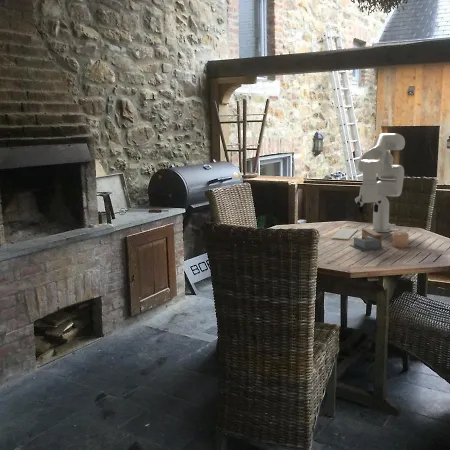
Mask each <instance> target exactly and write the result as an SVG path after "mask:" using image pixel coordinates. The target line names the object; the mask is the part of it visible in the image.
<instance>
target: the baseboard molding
mask: <svg viewBox="0 0 450 450" xmlns="http://www.w3.org/2000/svg"><path fill="white" fill-rule="evenodd" d="M358 228H359V227H356V228H355V226H354V227H352V226H350V225H349V226H348V225H347V226H346V227H342V226H340V227H339V230H338V231H337V232H336V233H335V234H333V236H331V237H330V240H339V241H349V240H350V239H351V238H352V237H353V236H354V235H355V234H356V233H357V231H358V230H359V229H358Z"/></svg>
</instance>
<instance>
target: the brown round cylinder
mask: <svg viewBox="0 0 450 450" xmlns="http://www.w3.org/2000/svg"><path fill="white" fill-rule="evenodd" d="M409 236H410V235H409V233H408V232H405V231H397V232H393V233H392V246H393V247H394V248H397V249H398V248H401V249H405V248H404V247H406V248H408V247H409Z"/></svg>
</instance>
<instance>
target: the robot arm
mask: <svg viewBox="0 0 450 450" xmlns="http://www.w3.org/2000/svg"><path fill="white" fill-rule="evenodd" d="M405 145H406V139H405V137H404V136H403V135H402V134H400V133H394V132H393V133H390V132H389V133H388V132H387V133H380V134H378V135H377V136H376V138H375V141H374V143H373V146H372V148H370V149H368V150H366V151H364V153H363V154H362V155H361V156H360V158H359V161H358V164H357V169H358V171H359V172H360V173H362V184H361V185H360V188H359V193H358V194H359V195H358V196H356V197H355V198H354V201H355V204H356V205H357V206H358V213H359V214H363V213H364V206H363V205H364V204H371V203H372V204H373V208H372V209H373V210H372V227H370V228H369V229H371V230H373V231H374V232H376V233H388V232H391V231H392V228H395V227H396V223H392V224H391V223H389V222H390V221H389V220H390V201H389V199H388V198H387V197H400V196H401V195H402V191H403V185H404V178H405V168H404V166H403V165H402V164H394V156H393V155H392V154H391V152H389V151H402V150H403V149H404V148H405ZM377 178H378V179H379V180H377Z"/></svg>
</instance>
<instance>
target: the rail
mask: <svg viewBox="0 0 450 450" xmlns="http://www.w3.org/2000/svg"><path fill="white" fill-rule="evenodd" d="M366 236H370V237H373V238H376V239H378V240H380V247H381V246H382V241H383V238H382V237H383V235H382V234H380V233H379V232H374V231H373V230H371V229H370V228H362V229H361V239H363V240H366Z"/></svg>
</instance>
